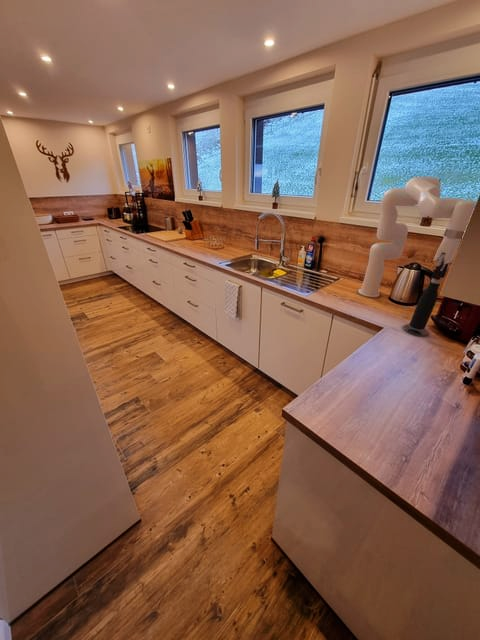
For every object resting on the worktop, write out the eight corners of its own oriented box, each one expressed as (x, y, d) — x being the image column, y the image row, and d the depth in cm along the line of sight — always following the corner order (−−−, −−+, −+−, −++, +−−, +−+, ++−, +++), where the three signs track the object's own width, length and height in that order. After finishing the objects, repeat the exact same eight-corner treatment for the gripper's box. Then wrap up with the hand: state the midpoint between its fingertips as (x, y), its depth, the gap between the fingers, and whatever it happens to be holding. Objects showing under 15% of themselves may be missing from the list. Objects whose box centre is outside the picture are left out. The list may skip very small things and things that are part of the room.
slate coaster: (409, 323, 133) (409, 322, 133) (430, 332, 126) (431, 330, 126) (399, 329, 128) (400, 327, 127) (421, 338, 121) (422, 337, 120)
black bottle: (422, 331, 122) (449, 268, 107) (407, 325, 126) (431, 265, 111) (426, 326, 126) (453, 266, 111) (412, 321, 130) (436, 262, 115)
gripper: (452, 231, 112) (435, 272, 121) (436, 234, 103) (419, 279, 112) (473, 234, 107) (454, 276, 116) (459, 238, 98) (439, 284, 107)
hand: (437, 277), depth 114 cm, fingers closed on black bottle, 3 cm apart
